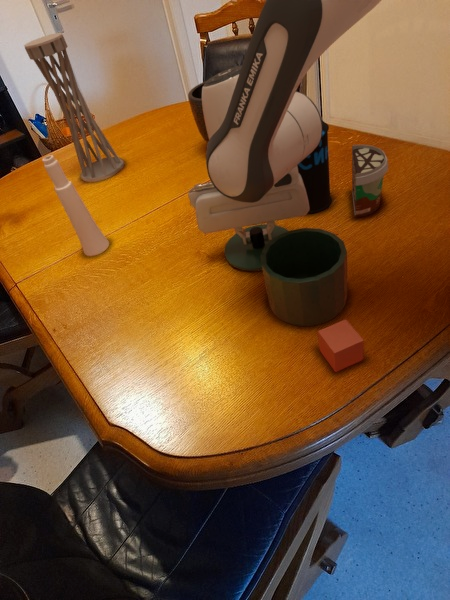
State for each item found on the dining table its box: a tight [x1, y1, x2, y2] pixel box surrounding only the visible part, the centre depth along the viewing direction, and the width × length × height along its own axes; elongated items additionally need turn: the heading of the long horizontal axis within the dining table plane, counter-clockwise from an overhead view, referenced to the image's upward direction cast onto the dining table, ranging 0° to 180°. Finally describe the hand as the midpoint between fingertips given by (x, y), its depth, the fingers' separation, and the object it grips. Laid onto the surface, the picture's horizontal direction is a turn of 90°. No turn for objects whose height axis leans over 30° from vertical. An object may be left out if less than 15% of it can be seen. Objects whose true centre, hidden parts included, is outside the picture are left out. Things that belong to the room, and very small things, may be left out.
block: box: [317, 318, 365, 373], centre depth 56 cm, size 4×4×4 cm
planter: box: [187, 80, 209, 144], centre depth 110 cm, size 17×17×16 cm
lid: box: [224, 223, 289, 272], centre depth 77 cm, size 14×14×5 cm
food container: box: [351, 144, 389, 219], centre depth 79 cm, size 12×6×10 cm, turn 171°
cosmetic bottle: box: [42, 154, 110, 257], centre depth 85 cm, size 6×6×22 cm
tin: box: [261, 227, 348, 327], centre depth 64 cm, size 13×13×10 cm
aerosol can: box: [297, 120, 332, 214], centre depth 80 cm, size 8×8×20 cm
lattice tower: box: [23, 32, 125, 183], centre depth 111 cm, size 14×13×35 cm
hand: (257, 240), depth 78 cm, fingers closed on lid, 2 cm apart
